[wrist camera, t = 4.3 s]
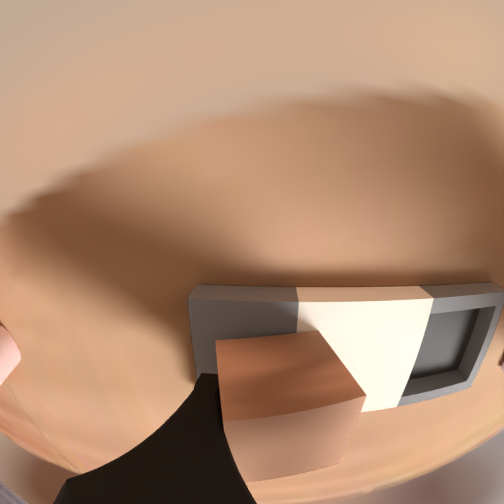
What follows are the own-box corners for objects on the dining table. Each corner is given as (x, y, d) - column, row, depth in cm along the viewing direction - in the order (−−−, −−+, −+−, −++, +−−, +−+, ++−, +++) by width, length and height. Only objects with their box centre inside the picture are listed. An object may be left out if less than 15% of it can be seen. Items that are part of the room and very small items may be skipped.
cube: (318, 329, 10) (366, 395, 6) (307, 400, 11) (338, 463, 7) (215, 340, 10) (222, 421, 6) (222, 411, 11) (231, 483, 7)
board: (491, 282, 10) (507, 291, 9) (459, 374, 12) (469, 387, 11) (197, 284, 12) (187, 298, 10) (208, 392, 13) (202, 411, 12)
